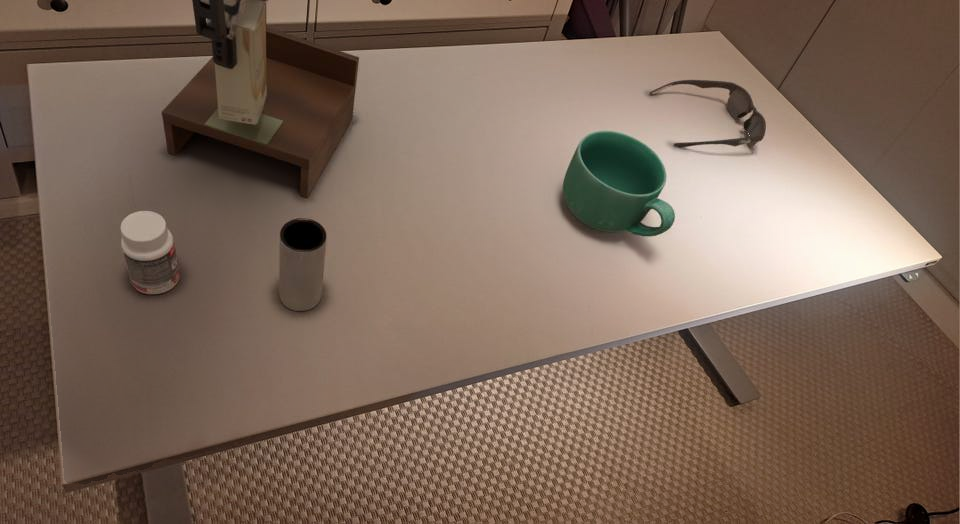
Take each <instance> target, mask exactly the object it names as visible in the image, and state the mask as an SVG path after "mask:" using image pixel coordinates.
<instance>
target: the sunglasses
mask: <svg viewBox="0 0 960 524" xmlns="http://www.w3.org/2000/svg"><path fill="white" fill-rule="evenodd" d="M677 85H692V86H695V87H697V88H701V89H715V88H716V89H717V88H718V89H724V90H729V91H728V96H729V97H728V98H727V102H726V109H727V111H728V113H729V114H730V116H732V118H734V119H737V120H738V119H743V118H744V117H746V116H747V115H748V114H750V116H749V117H748V118H747V119H746V120H745V121H743V124H742V126H743V127H742V128H743V130H744V131H745V130H746V131H745V133H744V134H745V135H744V136H743V137H738V138H729V139H728V138H727V139H718V140H705V141H691V142H689V141H687V142H675V143H673V146H675V147H677V148H680V149H682V148H688V147H694V146H703V145H704V146H705V145H727V146H731V147H739V146H742V145H746V144H747V145H748V146H749V147H753V146H755V145H756V144H757V143H759V142H761V141H762V140H763V139H764V137H765V135H766V129H767V122H766V120H765V117H764V116H763V114H761V113H760V112H759V111H758V109H757V108H756V107H755V105H754V101H753V99H752V96H751V95H750V93H749V92H748V90H747V89H745V88H744V87H743V86H742V85H738V84H736V83H734V82H732V81H722V80H707V79H706V80H705V79H683V80H682V79H681V80H675V81H672V82H669V83H667V84H664V85H661V86H660V87H658V88H656V89H653V90H652V91H650V92H649V94H650V95H656V94H658V93H659V92H661V91H664V90H666V89H667V88H669V87H673V86H677ZM751 113H752V114H751ZM748 133H749V134H748ZM749 135H750V136H749Z"/></svg>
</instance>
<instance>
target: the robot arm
mask: <svg viewBox="0 0 960 524" xmlns="http://www.w3.org/2000/svg"><path fill="white" fill-rule="evenodd" d="M191 1H192V10H193V16H194V24H195V31H196V34H197V36H201V37H203V38H206V39H209V40H211V50H212V57H213V61H214V63H215V64H217V65H219V66H222V67H225V68H228V69H233V68H234V67H235V66H236V64H237V57H236V37H235V31H236V26H237V21H238V17H239V16H242V15H243V14H244V11H245V6H246V1H247V0H236V3H235V4H234V5H230V4H227V3H224V1H223V0H191ZM263 1H265V2H266V3H267V2H269V0H263ZM225 12H227V13H228V21H227V25H226V22H225ZM266 29H267V28H266Z"/></svg>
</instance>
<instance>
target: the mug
mask: <svg viewBox="0 0 960 524" xmlns="http://www.w3.org/2000/svg"><path fill="white" fill-rule="evenodd" d="M570 159H571V160H570V162H569V164H568V167H567V168H566V171H565V173H564V174H565V175H564V178H563V183H562V195H563V198H564V201H565V204H566V206H567V208H568V210H570V212H571V213H572V214H573V215H574V216H575V218H577V219H578V220H579V221H581V222H582V223H584V224H585V225H587V226H588V227H591V228H593V229H594V230H598V231H602V232H606V233H607V232H608V233H619V232H620V233H621V232H625V231H627V232H628V233H631V234H633V235H636V236H640V237H650V238H651V237H656V236H659V235H662V234H663V233H666V232H667V231H669V230H670V229H671V228H672V227H673V225H674V222H675V218H676V213H675V210H674V208H673V206H672V205H671V204H670V203H668V202H667V201H665V200H662V199H661V198H658V197H659V196H660V195H661V193H662V191H663V190H664V188H665V186H666V183H667V171H666V167H665V165H664V162H663V161H662V160H661V158H660V157H659V155H658V154H657V153H656V152H655V151H654V150H653V149H652V148H651V147H650V146H648V145H647V144H646V143H644V142H642V141H641V140H639V139H637V138H635V137H633V136H631V135H628V134H625V133H623V132H617V131H613V130H598V131H593V132H590V133H588V134H587V135H585V136H584V137H582V139H581V140H580V141H579V142H578V144H577V147H576V148H575V151H574V154H573V155H572V157H571V158H570ZM651 210H654V211H655V212H657V213H658V215H659V217H660V225H659V226H650V225H647V224H645V223H643V222H642V221H643V220H644V219H645V218H646V216H647V215H648V214H649V213H650V211H651Z"/></svg>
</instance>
